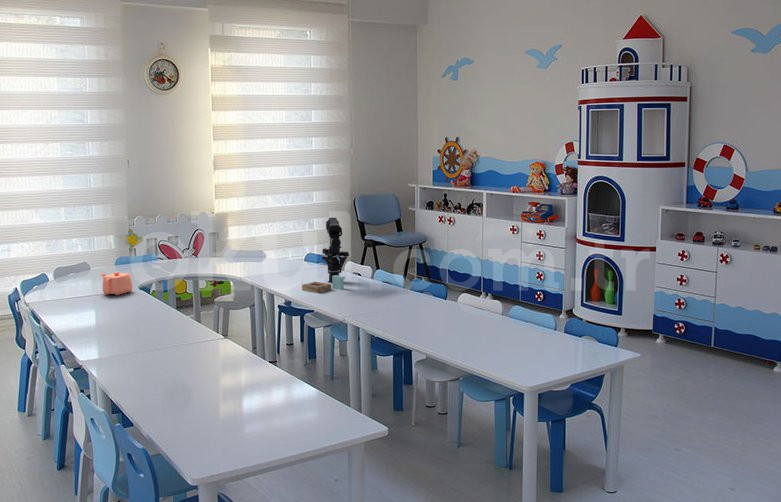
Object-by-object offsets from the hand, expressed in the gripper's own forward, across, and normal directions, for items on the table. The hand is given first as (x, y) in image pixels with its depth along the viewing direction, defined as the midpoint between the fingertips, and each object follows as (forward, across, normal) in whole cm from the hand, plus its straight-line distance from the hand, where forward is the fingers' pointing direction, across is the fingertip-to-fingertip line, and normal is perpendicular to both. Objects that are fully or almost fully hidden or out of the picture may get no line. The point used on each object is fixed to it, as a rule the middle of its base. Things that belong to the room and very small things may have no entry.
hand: (336, 269), depth 487 cm
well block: (+12, +10, -7) cm, 18 cm away
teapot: (+13, +93, -106) cm, 141 cm away
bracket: (+13, -1, +1) cm, 13 cm away
